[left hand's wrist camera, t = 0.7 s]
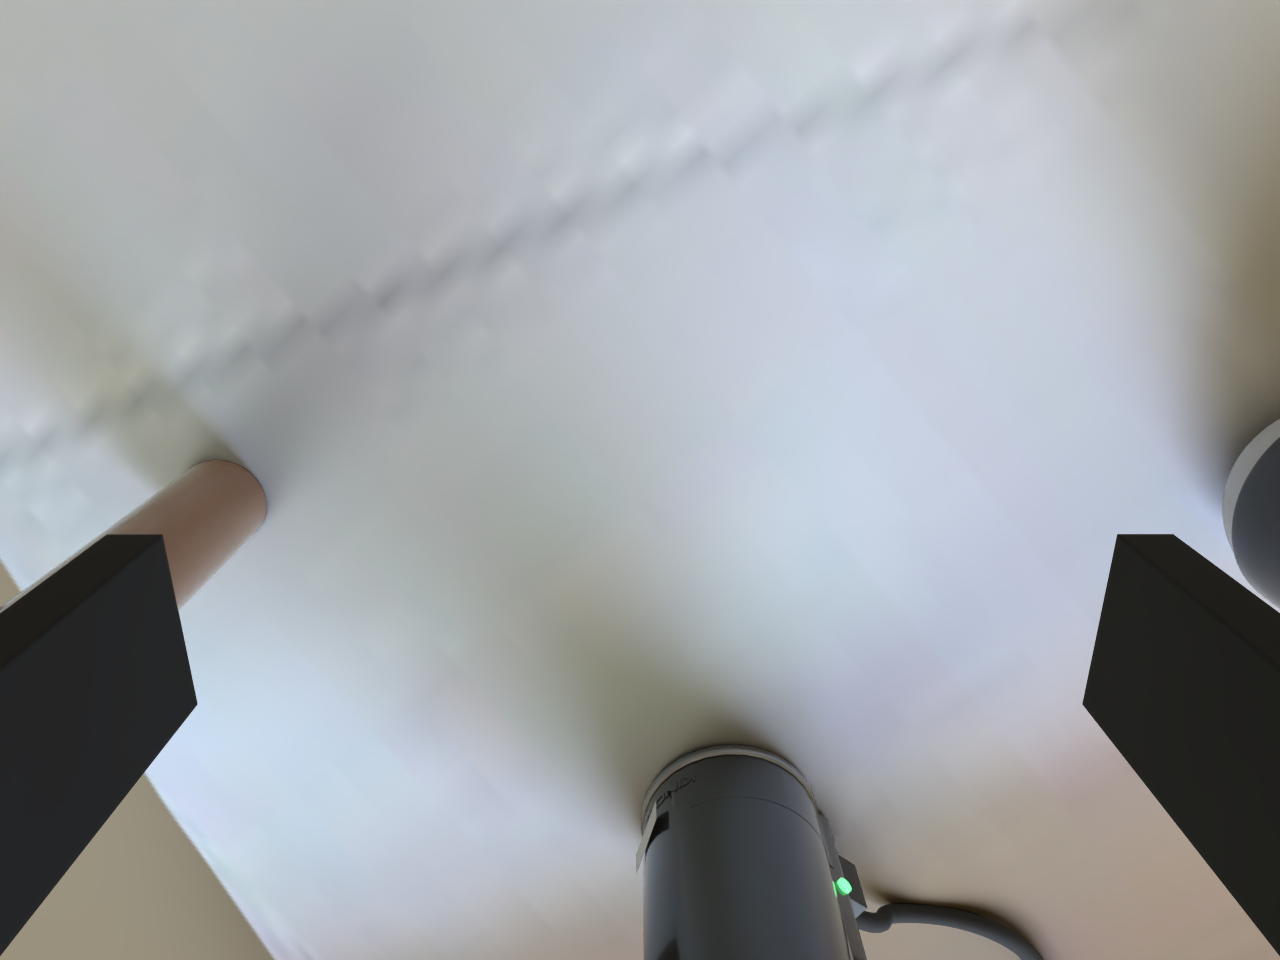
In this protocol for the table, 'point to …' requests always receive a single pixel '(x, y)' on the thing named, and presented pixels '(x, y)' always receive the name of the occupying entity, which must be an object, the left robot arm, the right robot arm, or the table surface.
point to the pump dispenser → (1256, 512)
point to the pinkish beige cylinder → (193, 523)
